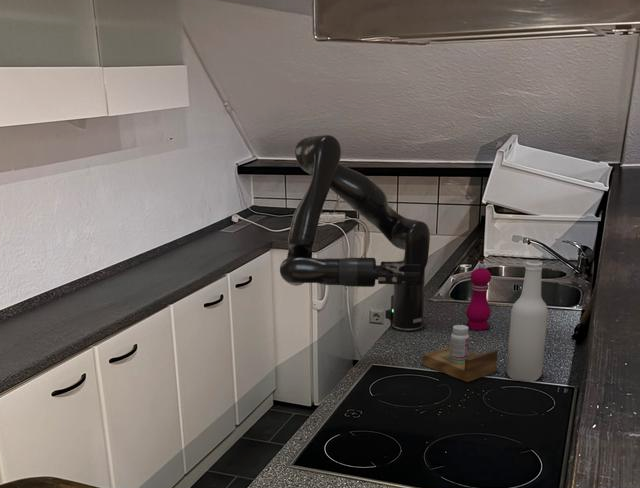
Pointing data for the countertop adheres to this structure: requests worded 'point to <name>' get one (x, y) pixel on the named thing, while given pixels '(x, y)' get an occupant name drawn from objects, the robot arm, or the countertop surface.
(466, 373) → the wooden box
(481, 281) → the pepper mill
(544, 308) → the alcohol
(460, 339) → the pill bottle
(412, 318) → the robot arm
